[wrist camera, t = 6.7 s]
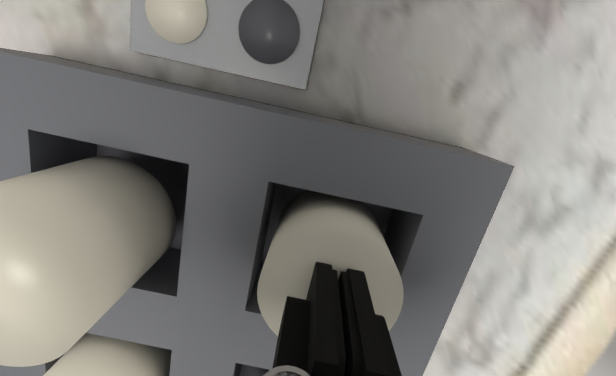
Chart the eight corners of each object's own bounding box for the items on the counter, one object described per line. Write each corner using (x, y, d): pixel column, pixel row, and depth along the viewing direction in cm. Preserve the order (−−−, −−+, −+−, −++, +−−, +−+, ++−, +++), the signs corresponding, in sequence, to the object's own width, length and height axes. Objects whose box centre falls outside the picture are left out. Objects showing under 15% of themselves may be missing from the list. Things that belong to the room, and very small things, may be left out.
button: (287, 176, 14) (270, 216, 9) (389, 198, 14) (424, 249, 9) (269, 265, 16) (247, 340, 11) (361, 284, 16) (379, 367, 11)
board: (51, 55, 14) (-52, 40, 10) (462, 147, 14) (514, 166, 11) (65, 373, 20) (5, 439, 16) (356, 430, 20) (364, 508, 16)
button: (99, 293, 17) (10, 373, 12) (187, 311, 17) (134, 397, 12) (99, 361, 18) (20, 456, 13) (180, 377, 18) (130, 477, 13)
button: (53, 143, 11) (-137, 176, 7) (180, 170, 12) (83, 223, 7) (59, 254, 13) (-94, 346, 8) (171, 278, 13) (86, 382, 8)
